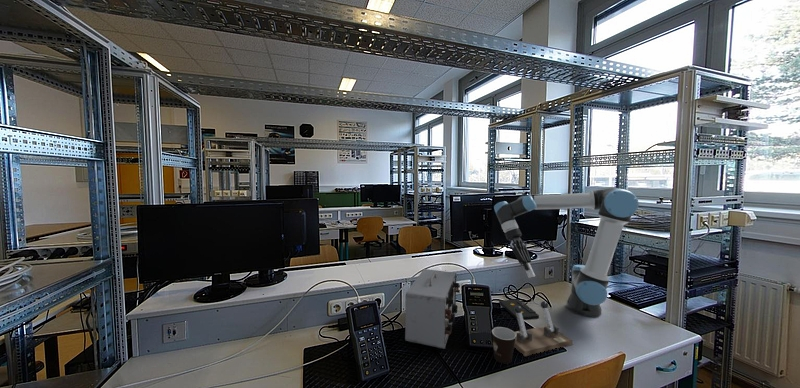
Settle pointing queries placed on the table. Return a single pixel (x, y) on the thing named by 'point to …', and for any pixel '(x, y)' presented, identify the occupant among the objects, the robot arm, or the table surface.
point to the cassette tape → (526, 310)
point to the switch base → (540, 340)
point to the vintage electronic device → (431, 308)
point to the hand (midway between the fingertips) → (532, 277)
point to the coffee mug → (503, 344)
